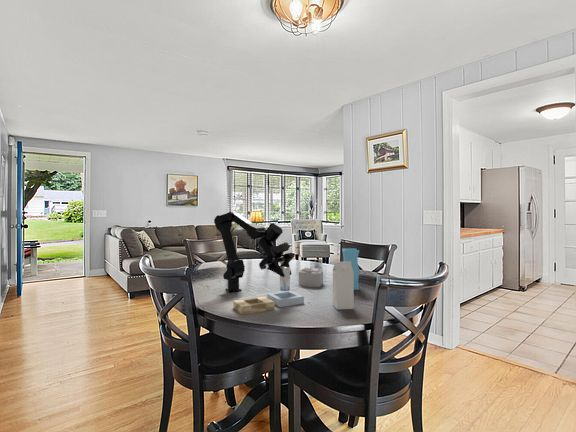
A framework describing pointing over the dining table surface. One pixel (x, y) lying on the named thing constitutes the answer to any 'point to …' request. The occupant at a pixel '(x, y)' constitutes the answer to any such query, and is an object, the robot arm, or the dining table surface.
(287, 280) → the steel axle
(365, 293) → the dining table surface
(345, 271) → the milk carton
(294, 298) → the seat block
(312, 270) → the lumpy-topped squat cylinder
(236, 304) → the tan rectangular frame
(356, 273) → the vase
